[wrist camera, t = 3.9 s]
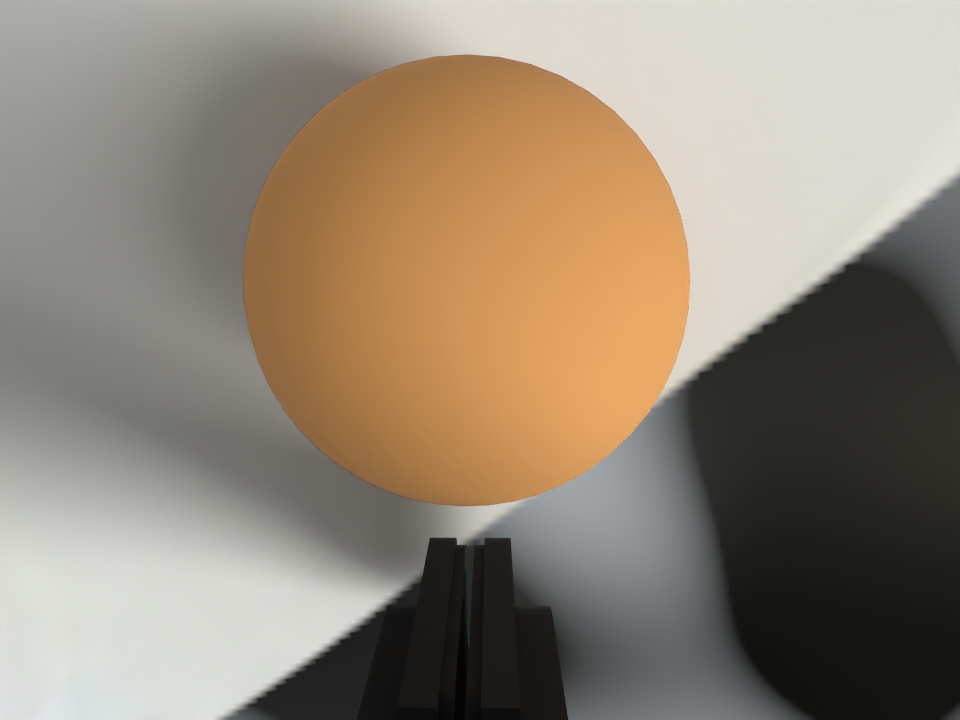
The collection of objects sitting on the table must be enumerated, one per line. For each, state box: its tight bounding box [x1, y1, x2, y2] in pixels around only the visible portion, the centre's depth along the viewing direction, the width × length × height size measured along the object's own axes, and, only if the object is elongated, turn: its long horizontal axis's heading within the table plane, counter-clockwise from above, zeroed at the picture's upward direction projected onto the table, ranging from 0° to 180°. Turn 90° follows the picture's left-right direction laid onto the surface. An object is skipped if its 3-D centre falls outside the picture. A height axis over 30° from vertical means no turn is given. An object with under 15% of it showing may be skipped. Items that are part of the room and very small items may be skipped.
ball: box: [243, 55, 690, 506], centre depth 8 cm, size 6×6×6 cm
